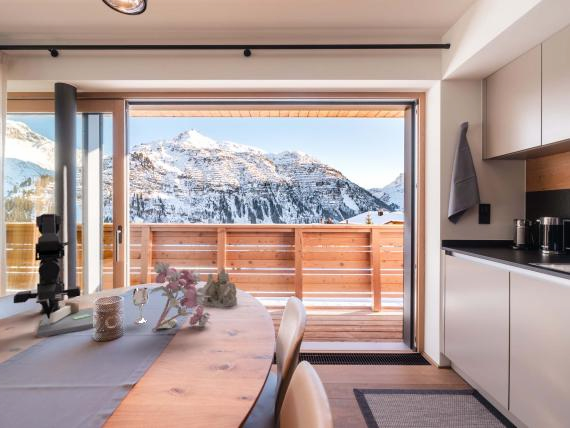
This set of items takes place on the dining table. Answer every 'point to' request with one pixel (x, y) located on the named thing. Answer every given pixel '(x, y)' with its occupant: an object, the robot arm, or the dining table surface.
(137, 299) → the wineglass
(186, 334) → the dining table surface
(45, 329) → the dial plate
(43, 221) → the robot arm
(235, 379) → the dining table surface
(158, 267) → the flower
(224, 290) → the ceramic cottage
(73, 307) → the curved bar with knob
